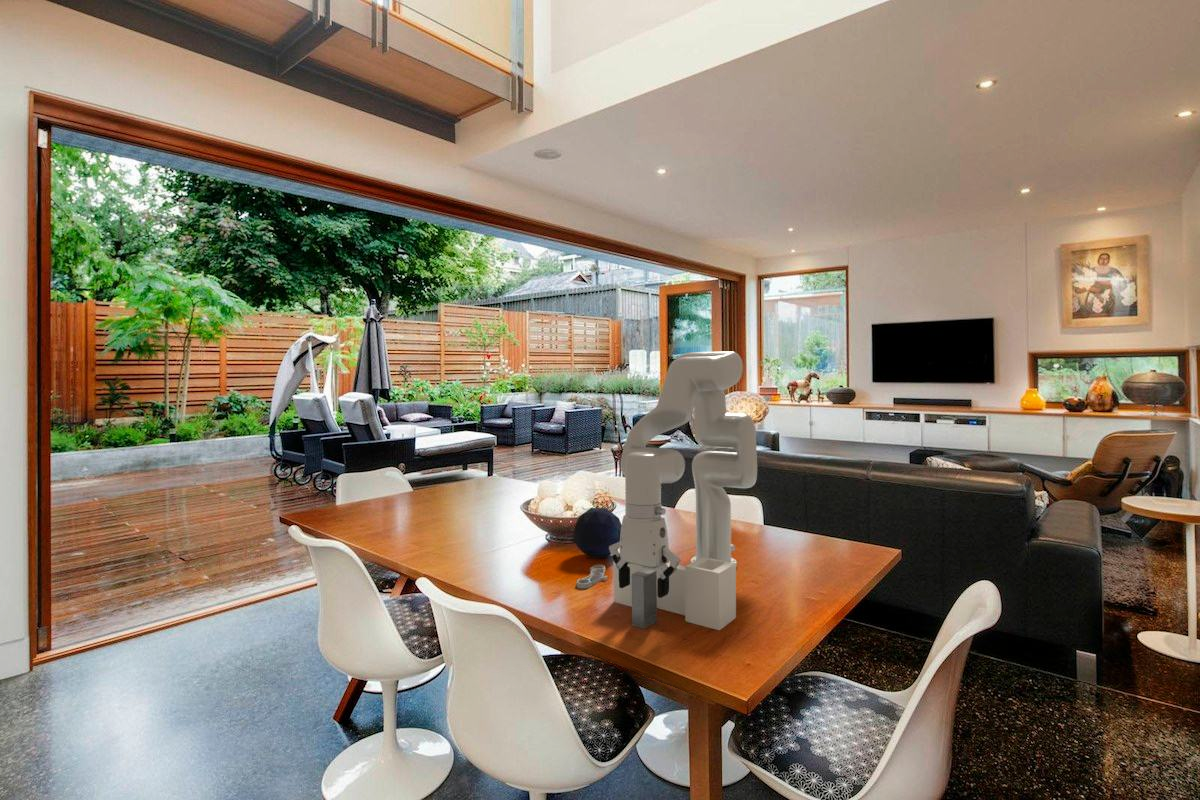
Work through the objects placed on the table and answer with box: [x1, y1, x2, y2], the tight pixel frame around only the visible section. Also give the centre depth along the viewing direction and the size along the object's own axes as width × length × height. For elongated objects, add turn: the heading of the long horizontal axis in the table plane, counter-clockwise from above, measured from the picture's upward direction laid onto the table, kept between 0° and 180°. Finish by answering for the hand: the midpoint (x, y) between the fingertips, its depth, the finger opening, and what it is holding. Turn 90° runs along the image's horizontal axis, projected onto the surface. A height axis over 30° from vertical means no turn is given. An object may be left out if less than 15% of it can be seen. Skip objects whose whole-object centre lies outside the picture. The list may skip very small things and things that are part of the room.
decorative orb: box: [573, 507, 622, 559], centre depth 176 cm, size 14×15×15 cm
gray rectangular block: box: [631, 568, 658, 630], centre depth 128 cm, size 5×3×11 cm, turn 143°
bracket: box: [576, 564, 608, 590], centre depth 157 cm, size 8×2×15 cm
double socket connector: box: [612, 548, 737, 631], centre depth 136 cm, size 8×27×12 cm, turn 52°
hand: (643, 591), depth 128 cm, fingers open, 9 cm apart
